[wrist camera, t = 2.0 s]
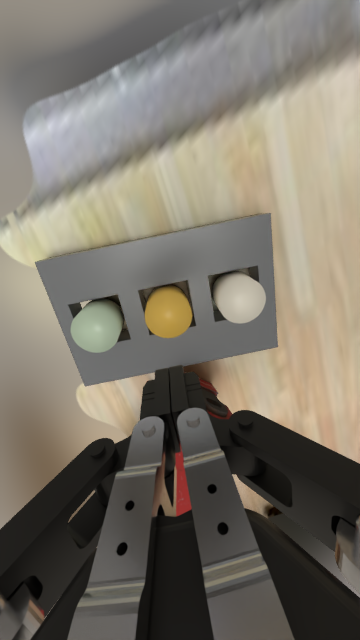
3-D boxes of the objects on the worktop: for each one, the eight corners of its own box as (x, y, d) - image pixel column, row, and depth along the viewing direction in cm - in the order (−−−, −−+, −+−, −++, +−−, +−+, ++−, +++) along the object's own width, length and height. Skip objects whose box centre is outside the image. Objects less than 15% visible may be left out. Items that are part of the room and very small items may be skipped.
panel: (258, 213, 26) (270, 212, 23) (267, 335, 31) (277, 347, 28) (48, 257, 26) (34, 262, 23) (91, 371, 31) (85, 386, 28)
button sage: (117, 294, 26) (111, 305, 23) (129, 332, 27) (124, 347, 24) (75, 303, 26) (63, 315, 23) (89, 340, 28) (79, 356, 24)
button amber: (184, 280, 26) (187, 289, 23) (191, 319, 27) (195, 333, 24) (142, 289, 26) (139, 299, 23) (152, 327, 27) (150, 342, 24)
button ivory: (251, 266, 26) (264, 273, 22) (254, 306, 27) (267, 318, 24) (209, 275, 26) (215, 283, 23) (215, 315, 27) (222, 327, 24)
